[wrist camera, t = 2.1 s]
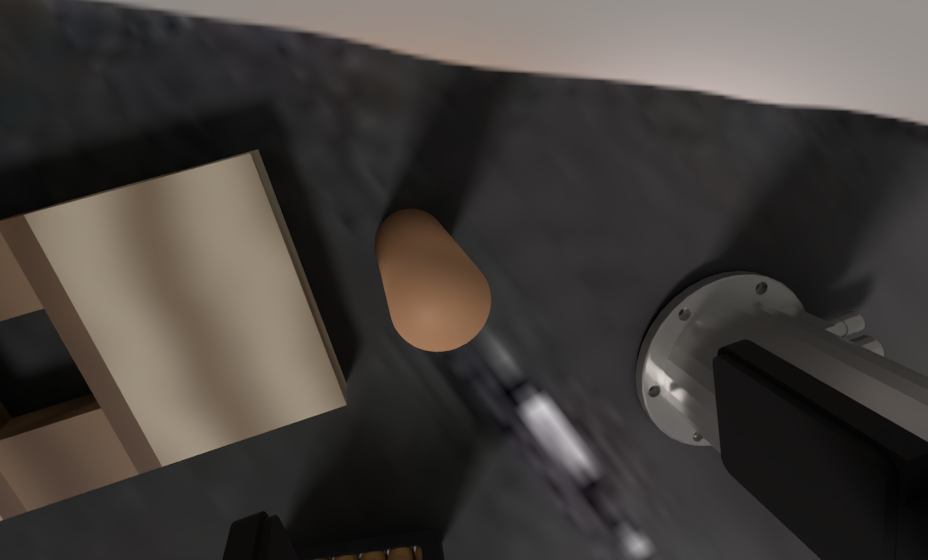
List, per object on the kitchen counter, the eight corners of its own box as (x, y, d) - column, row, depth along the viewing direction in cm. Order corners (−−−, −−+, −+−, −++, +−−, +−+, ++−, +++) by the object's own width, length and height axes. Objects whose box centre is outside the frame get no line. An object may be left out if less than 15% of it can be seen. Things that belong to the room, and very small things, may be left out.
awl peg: (435, 199, 30) (477, 241, 21) (453, 265, 31) (500, 333, 22) (365, 220, 30) (376, 272, 20) (386, 286, 31) (406, 364, 22)
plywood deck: (258, 149, 27) (250, 153, 25) (346, 383, 32) (346, 404, 30) (-174, 266, 25) (-227, 282, 23) (-9, 500, 30) (-39, 533, 27)
